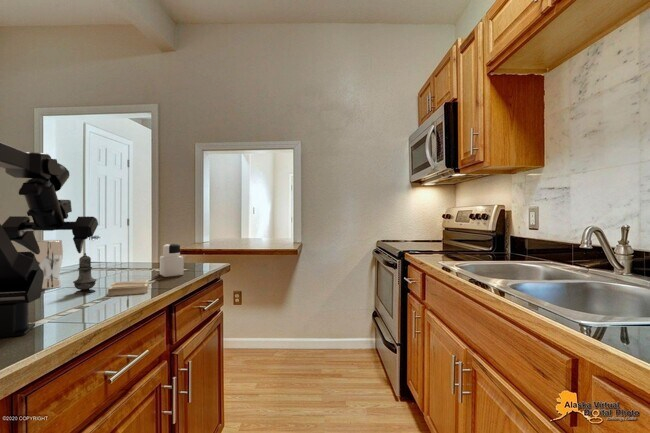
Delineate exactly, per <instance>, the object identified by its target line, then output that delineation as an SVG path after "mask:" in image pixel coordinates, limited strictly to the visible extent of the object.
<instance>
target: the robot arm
mask: <svg viewBox="0 0 650 433" xmlns="http://www.w3.org/2000/svg"><path fill="white" fill-rule="evenodd" d="M0 168H2V169H4V172H5V173H6V174H7V175H9V176H11V177H13V178H15V179H27V180H26V181H24V182H23V183H22V184H21V186H20V188H19V190H18V195H19V196H23V197H24V198H25V202H26V205H27V207H28V210H27V211H26V214H27V215H26V216H22V215H21V216H19V215H17V216H16V215H15V216H13V215H12V216H10V215H9V217H8V218H6V220H5V221H3V223H2V224H1V223H0V338H7V337H8V338H9V337H15V336H16V337H17V336H24V335H26V334H27V333H28V332H29V331H31V330H32V329H33V328H34V327H35V326H36V323H35V322H34V323H33V322H31V323H29V322H30V321H29V317H30V316H29V315H30V314H29V313H30V311H29V309H30V308H29V304H30V303H32V302H34V301H36V300H38V299H40V298H41V297H42V290H43V289H42V285H43V279H44V273H43V270H42V269H41V268H40V266H39V264H40V263H39V262H38V261H37V260H36V257H35V254H39V253H40V249H39V246H38V243H37V241H38V240H37V238H36V236H35V234H34V232H37V231H38V232H43V231H44V232H51V231H70V230H71V232H72V235H73V238H72V240H73V243H74V246H75V250H76V252H77V253H78V254H81V253H82V251H83V247H84V244H85V243H84V242H85V240H87V239H88V238H91V237H93V236H94V234H95V232H96V230H97V228H98V226H99V222H98V219H97V218H96V217H95V216H77V217H76V220H75V221H65V220H68V218H69V213H72V212H73V209H72V201H71V199H59V198H58V195H57V193H56V192H59V191H60V190H61V189H62V187H63V186H64V185H65V183H66V182H67V181H68V179H69V178H70V171H69V170H68V168H66V166H65V165H63V164H61V163H59V162H58V160H57V158H52V157H51V155H50V154H49V153H45V152H33V151H32V152H30V151H23V150H21V149H19V148H16V147H14V146H12V145H9V144H6V143H4V142H1V141H0ZM30 218H32V221H33V222H32V221H31V219H30ZM12 241H13V242H15V243H17V244H19V245H21V246H22V247H24V248H26V249H27V250H28V251H18V250H17V249H16V247H15V246H14V244H13V242H12Z"/></svg>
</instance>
